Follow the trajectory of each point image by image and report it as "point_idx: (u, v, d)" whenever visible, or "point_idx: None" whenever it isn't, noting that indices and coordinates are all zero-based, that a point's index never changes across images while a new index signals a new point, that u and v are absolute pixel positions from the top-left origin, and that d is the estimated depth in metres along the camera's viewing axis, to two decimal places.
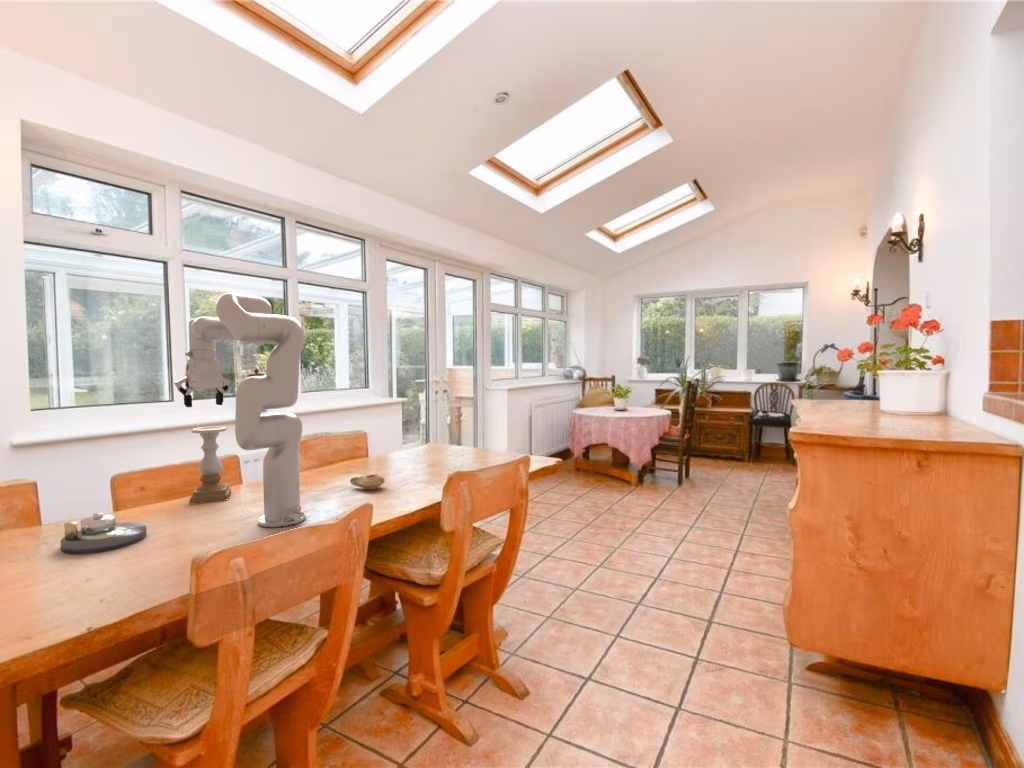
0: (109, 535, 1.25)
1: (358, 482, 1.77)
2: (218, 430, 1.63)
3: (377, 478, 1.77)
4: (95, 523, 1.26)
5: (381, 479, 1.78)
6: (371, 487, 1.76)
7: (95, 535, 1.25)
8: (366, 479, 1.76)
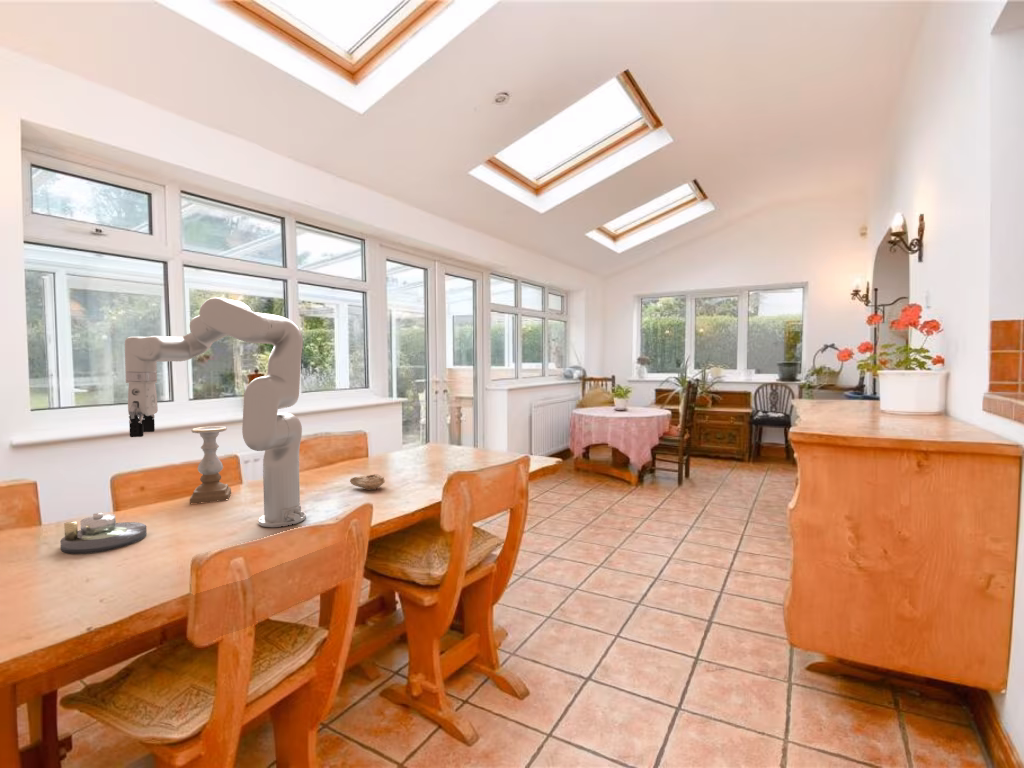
0: (109, 535, 1.25)
1: (358, 482, 1.77)
2: (218, 430, 1.63)
3: (377, 478, 1.77)
4: (95, 523, 1.26)
5: (381, 479, 1.78)
6: (371, 487, 1.76)
7: (95, 535, 1.25)
8: (366, 479, 1.76)
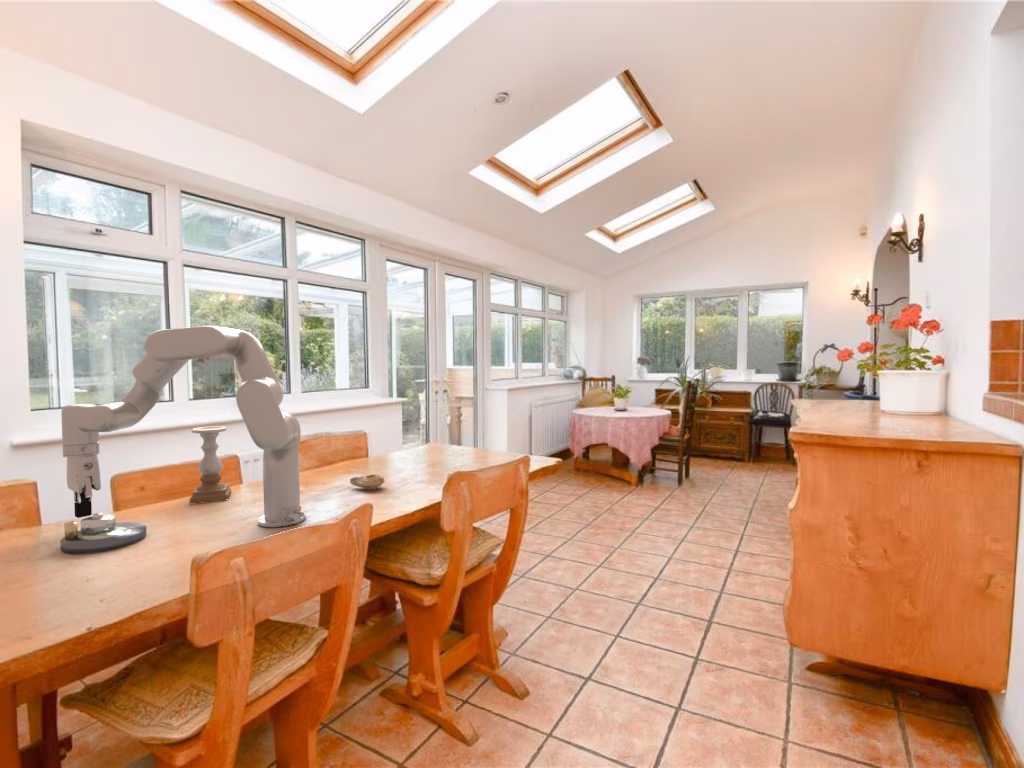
0: (109, 535, 1.25)
1: (358, 482, 1.77)
2: (218, 430, 1.63)
3: (377, 478, 1.77)
4: (95, 523, 1.26)
5: (381, 479, 1.78)
6: (371, 487, 1.76)
7: (95, 535, 1.25)
8: (366, 479, 1.76)
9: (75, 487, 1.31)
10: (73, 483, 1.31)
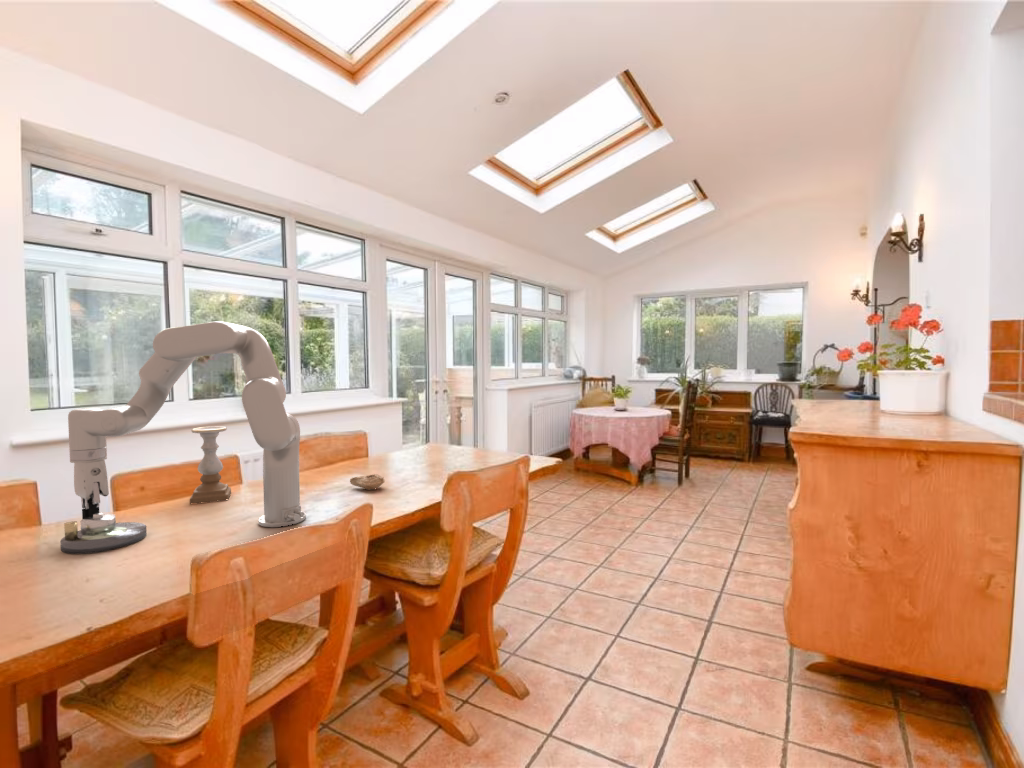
0: (109, 535, 1.25)
1: (358, 482, 1.77)
2: (218, 430, 1.63)
3: (377, 478, 1.77)
4: (95, 523, 1.26)
5: (381, 479, 1.78)
6: (371, 487, 1.76)
7: (95, 535, 1.25)
8: (366, 479, 1.76)
9: (82, 493, 1.28)
10: (80, 489, 1.29)
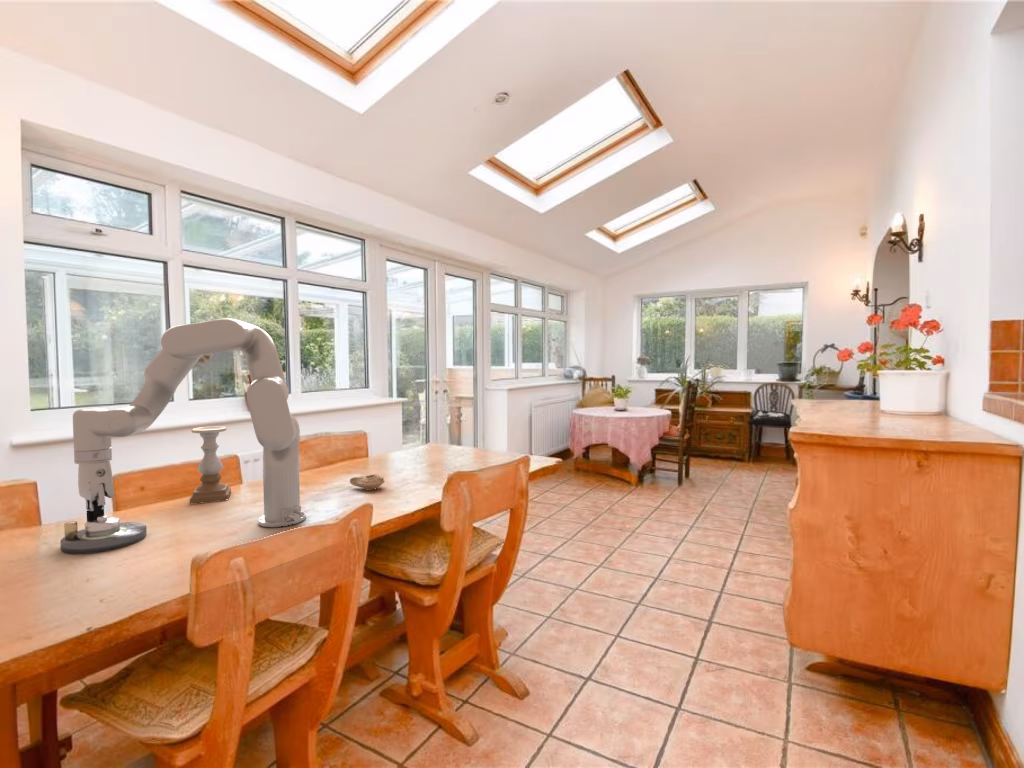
0: (109, 535, 1.25)
1: (358, 482, 1.77)
2: (218, 430, 1.63)
3: (377, 478, 1.77)
4: (99, 526, 1.24)
5: (381, 479, 1.78)
6: (371, 487, 1.76)
7: None
8: (366, 479, 1.76)
9: (87, 495, 1.26)
10: (85, 491, 1.26)
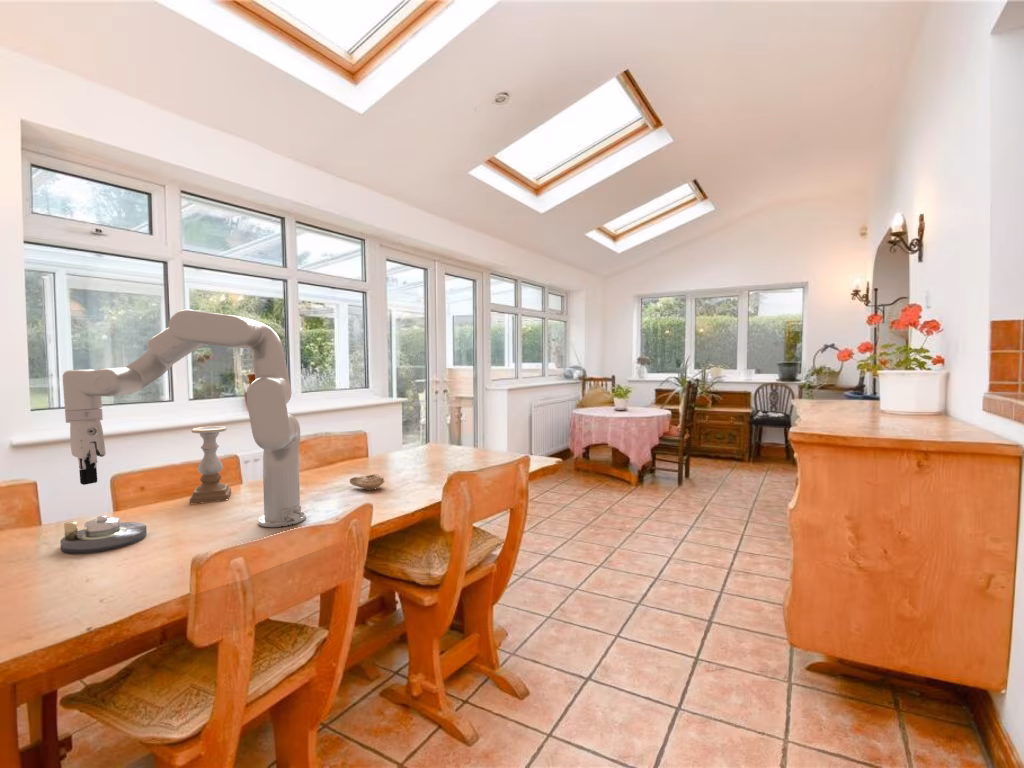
0: (109, 535, 1.25)
1: (358, 482, 1.77)
2: (218, 430, 1.63)
3: (377, 478, 1.77)
4: (99, 526, 1.24)
5: (381, 479, 1.78)
6: (371, 487, 1.76)
7: None
8: (366, 479, 1.76)
9: (79, 453, 1.29)
10: (77, 449, 1.29)
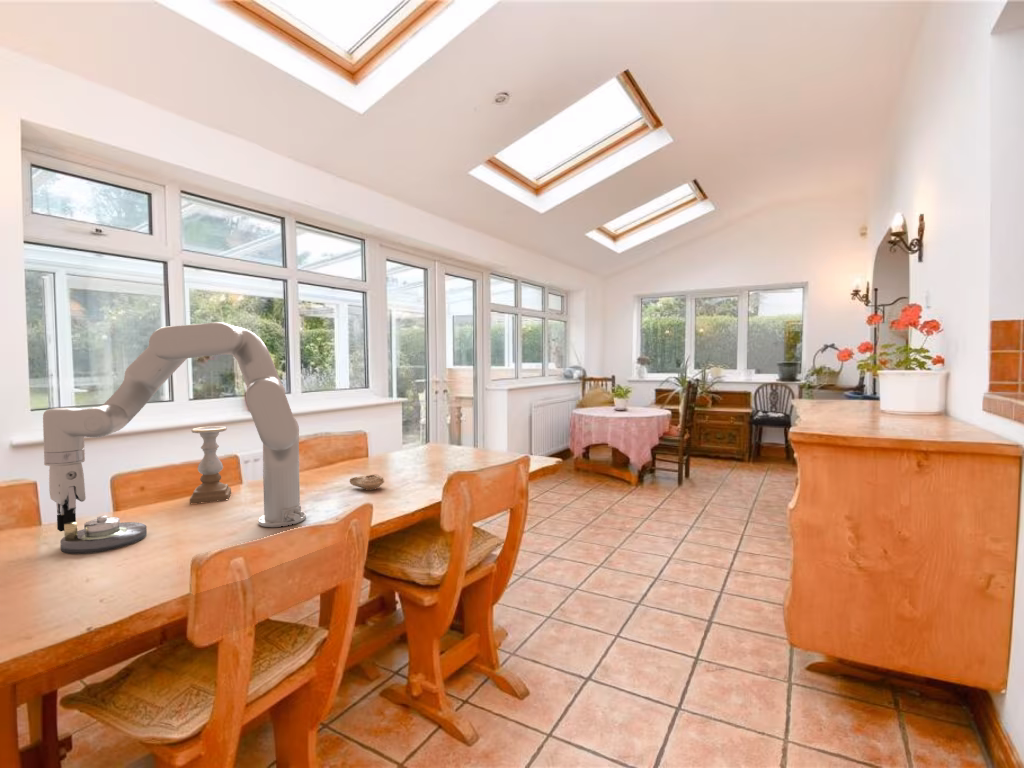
0: (110, 535, 1.25)
1: (358, 482, 1.77)
2: (218, 430, 1.63)
3: (376, 478, 1.77)
4: (100, 526, 1.24)
5: (380, 479, 1.78)
6: (370, 487, 1.75)
7: None
8: (365, 479, 1.76)
9: (57, 498, 1.20)
10: (55, 494, 1.21)
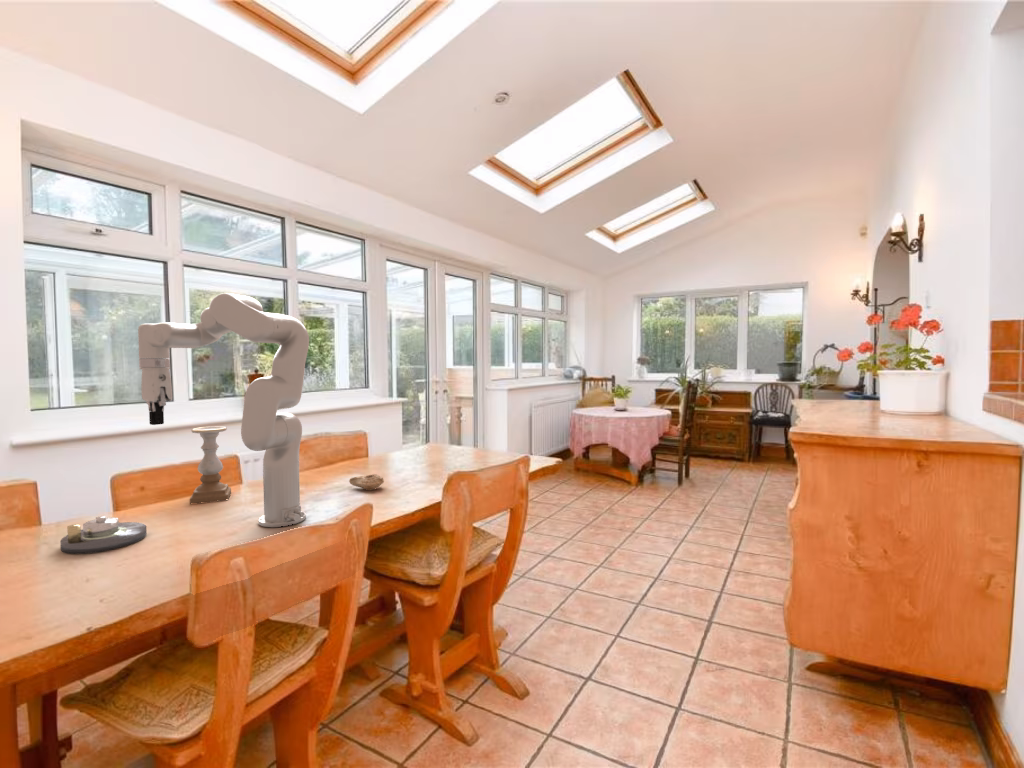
0: (116, 533, 1.26)
1: (357, 482, 1.77)
2: (218, 430, 1.63)
3: (376, 478, 1.77)
4: (107, 525, 1.24)
5: (380, 479, 1.78)
6: (370, 487, 1.75)
7: None
8: (365, 479, 1.76)
9: (151, 396, 1.47)
10: (149, 393, 1.48)
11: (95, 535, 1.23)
